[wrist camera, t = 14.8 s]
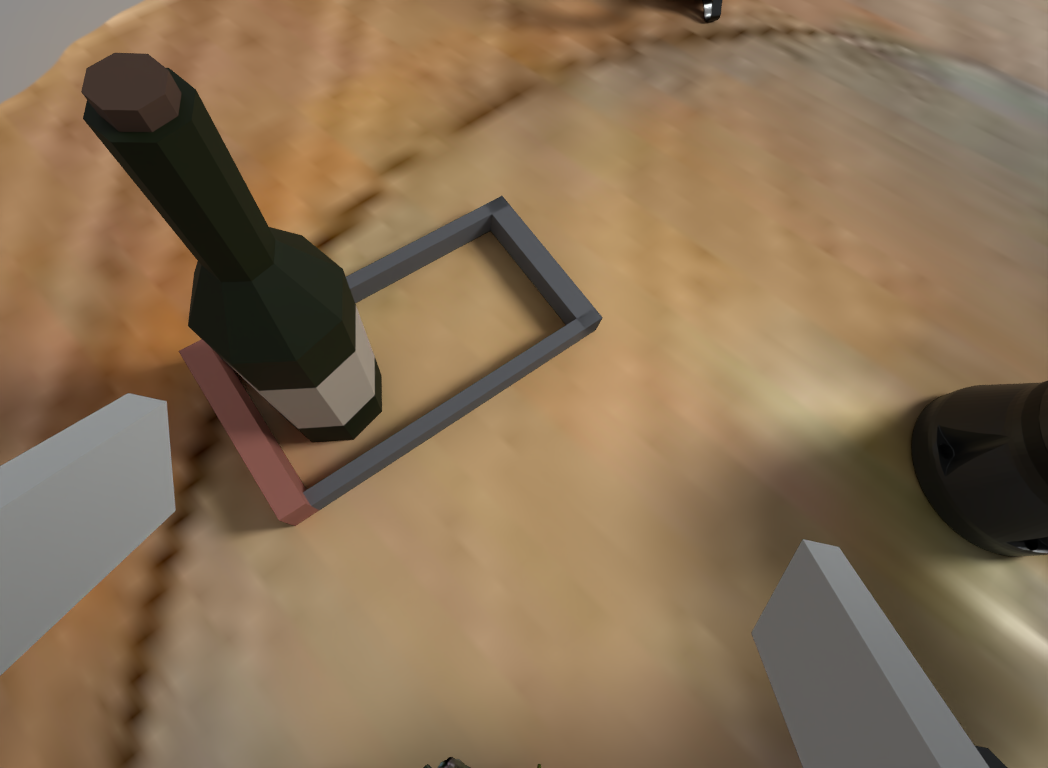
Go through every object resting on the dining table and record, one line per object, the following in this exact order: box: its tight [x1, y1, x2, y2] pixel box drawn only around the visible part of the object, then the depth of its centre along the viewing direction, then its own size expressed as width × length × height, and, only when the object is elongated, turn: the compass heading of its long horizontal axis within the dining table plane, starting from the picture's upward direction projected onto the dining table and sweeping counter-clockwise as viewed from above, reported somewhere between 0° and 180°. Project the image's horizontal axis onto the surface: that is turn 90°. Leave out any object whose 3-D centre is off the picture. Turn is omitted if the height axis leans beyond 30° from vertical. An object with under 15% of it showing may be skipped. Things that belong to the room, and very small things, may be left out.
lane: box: [179, 196, 602, 526], centre depth 45 cm, size 30×15×4 cm, turn 126°
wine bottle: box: [81, 53, 382, 442], centre depth 30 cm, size 8×8×30 cm
